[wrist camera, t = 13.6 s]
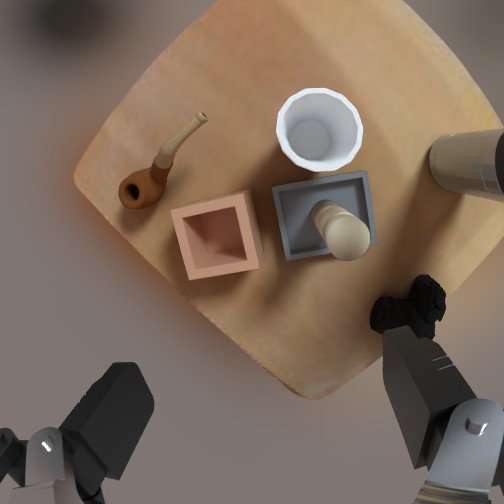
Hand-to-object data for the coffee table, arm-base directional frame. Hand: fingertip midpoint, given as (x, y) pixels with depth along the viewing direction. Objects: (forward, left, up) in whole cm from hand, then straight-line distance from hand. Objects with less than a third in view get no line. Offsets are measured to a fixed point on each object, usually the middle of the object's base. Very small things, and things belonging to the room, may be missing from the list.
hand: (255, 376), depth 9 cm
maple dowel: (-7, +2, -37) cm, 38 cm away
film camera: (-18, +21, -38) cm, 47 cm away
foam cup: (-7, -9, -38) cm, 40 cm away
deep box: (+8, +1, -38) cm, 39 cm away
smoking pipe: (+14, -11, -38) cm, 42 cm away
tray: (-7, +2, -38) cm, 39 cm away
